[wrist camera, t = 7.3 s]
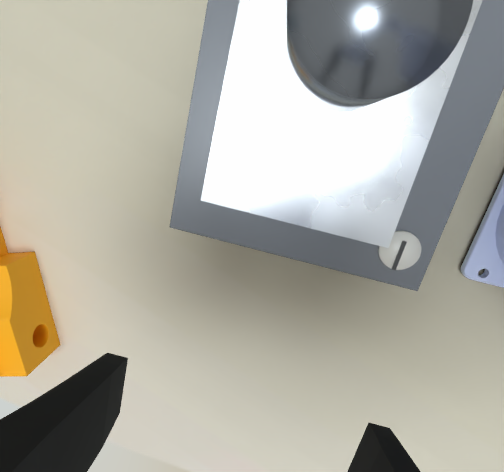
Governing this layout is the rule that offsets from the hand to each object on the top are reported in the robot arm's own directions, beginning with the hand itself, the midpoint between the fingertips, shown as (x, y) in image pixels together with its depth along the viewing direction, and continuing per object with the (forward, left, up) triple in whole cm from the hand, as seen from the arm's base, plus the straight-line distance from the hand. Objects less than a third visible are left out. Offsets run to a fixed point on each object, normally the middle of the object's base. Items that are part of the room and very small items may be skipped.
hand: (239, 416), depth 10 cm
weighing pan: (-1, -11, -7) cm, 13 cm away
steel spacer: (0, -11, -6) cm, 12 cm away
